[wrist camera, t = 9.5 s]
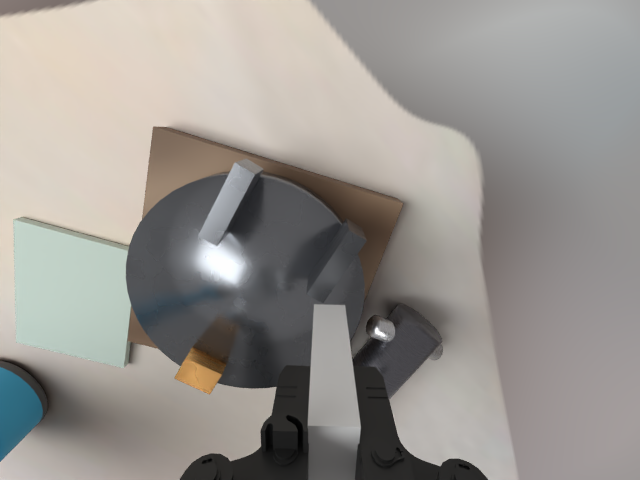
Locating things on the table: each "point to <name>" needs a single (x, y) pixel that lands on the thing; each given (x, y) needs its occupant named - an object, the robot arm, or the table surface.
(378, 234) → the plinth
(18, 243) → the mat
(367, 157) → the table surface
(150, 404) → the table surface
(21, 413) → the power drill
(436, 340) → the black cylinder
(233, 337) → the chuck collar
